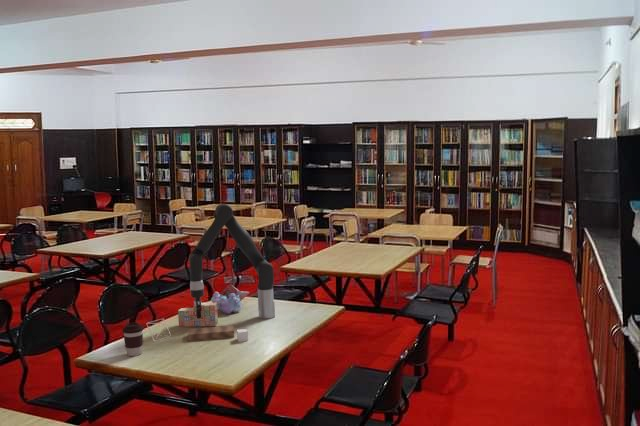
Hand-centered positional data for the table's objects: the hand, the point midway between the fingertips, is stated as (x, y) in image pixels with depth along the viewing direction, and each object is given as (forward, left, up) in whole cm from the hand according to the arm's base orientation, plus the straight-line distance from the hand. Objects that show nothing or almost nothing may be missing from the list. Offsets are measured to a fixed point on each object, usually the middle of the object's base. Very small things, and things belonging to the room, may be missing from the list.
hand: (198, 316), depth 329 cm
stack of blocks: (0, 0, -5) cm, 5 cm away
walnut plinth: (-5, +23, -6) cm, 24 cm away
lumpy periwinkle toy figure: (-21, -26, -6) cm, 34 cm away
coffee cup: (+34, +37, -6) cm, 51 cm away
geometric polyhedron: (+22, +15, -6) cm, 27 cm away
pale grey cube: (-20, +35, -5) cm, 41 cm away
